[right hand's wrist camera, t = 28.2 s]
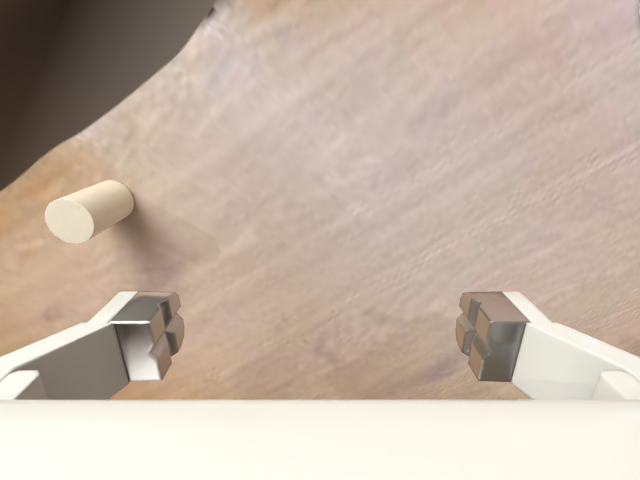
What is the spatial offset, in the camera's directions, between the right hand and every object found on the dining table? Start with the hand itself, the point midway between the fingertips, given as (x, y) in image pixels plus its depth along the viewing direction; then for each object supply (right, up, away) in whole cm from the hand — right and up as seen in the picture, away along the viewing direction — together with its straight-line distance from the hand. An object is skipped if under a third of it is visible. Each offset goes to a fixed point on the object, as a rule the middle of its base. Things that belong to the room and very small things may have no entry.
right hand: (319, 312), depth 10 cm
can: (-25, +7, +33) cm, 42 cm away
